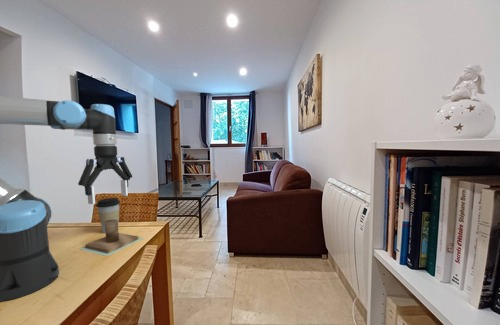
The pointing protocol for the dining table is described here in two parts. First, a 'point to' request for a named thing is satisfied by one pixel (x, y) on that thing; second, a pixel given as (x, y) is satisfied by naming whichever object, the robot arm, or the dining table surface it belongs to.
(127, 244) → the rubber mat
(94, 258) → the dining table surface
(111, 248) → the walnut cover
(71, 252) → the dining table surface
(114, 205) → the coffee cup
